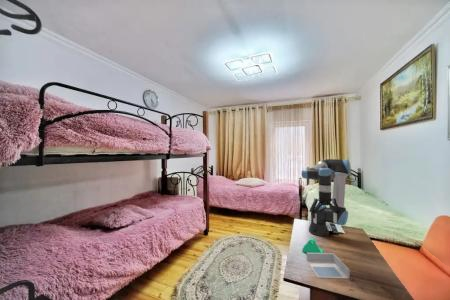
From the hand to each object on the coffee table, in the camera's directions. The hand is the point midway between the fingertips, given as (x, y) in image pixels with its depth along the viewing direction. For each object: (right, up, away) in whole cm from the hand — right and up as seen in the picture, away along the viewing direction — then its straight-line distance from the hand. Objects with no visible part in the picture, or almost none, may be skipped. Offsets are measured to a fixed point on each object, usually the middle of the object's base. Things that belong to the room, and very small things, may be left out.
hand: (325, 222), depth 129 cm
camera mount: (-7, -23, +4) cm, 24 cm away
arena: (-7, -22, -15) cm, 27 cm away
